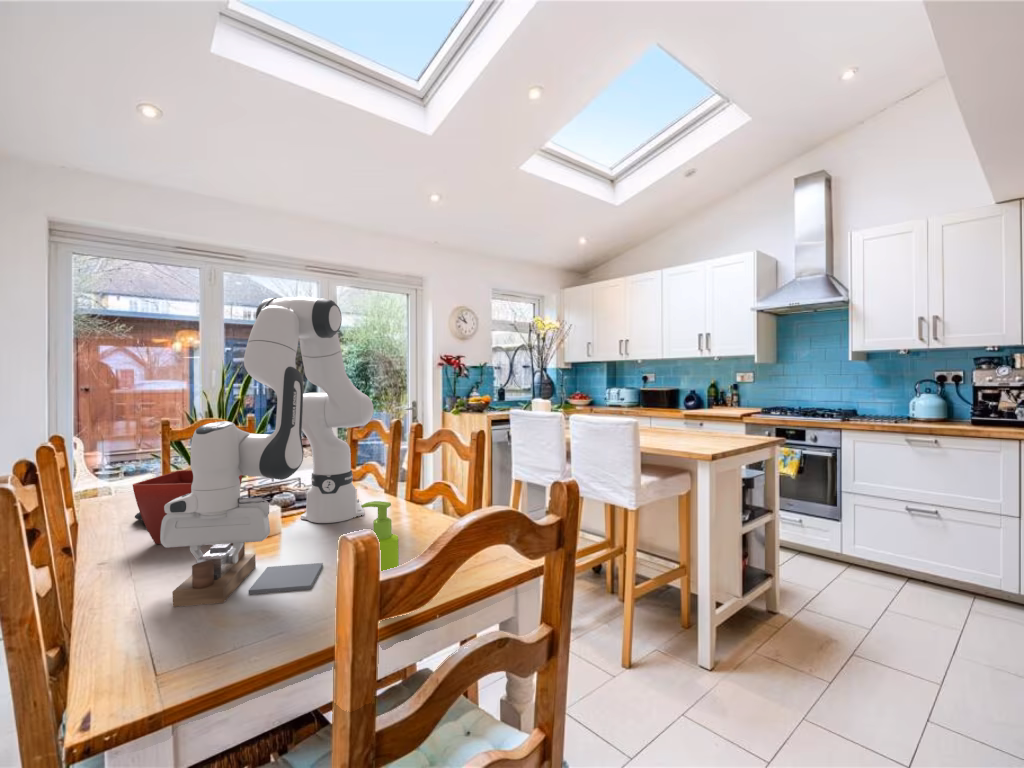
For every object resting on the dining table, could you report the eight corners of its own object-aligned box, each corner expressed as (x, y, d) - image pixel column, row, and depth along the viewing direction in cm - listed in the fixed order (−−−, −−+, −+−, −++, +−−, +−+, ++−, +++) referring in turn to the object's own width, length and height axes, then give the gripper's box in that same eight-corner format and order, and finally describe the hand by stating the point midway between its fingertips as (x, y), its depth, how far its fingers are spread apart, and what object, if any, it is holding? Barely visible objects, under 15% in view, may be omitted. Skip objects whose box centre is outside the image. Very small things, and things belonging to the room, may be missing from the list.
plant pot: (180, 525, 142) (178, 469, 142) (245, 524, 143) (244, 468, 142) (131, 549, 123) (129, 484, 122) (207, 548, 124) (206, 483, 123)
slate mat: (267, 570, 109) (267, 566, 109) (322, 566, 111) (322, 562, 111) (248, 594, 97) (248, 590, 97) (310, 589, 100) (310, 585, 100)
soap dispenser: (370, 597, 96) (369, 497, 95) (403, 599, 95) (402, 499, 94) (356, 611, 90) (355, 506, 90) (391, 614, 89) (390, 507, 89)
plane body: (213, 569, 110) (212, 530, 110) (255, 566, 112) (254, 528, 111) (172, 607, 92) (171, 560, 92) (223, 602, 94) (222, 557, 94)
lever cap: (214, 564, 105) (214, 542, 105) (236, 562, 106) (235, 541, 106) (197, 579, 98) (197, 556, 97) (221, 577, 98) (220, 554, 98)
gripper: (273, 493, 106) (274, 554, 107) (171, 497, 103) (173, 561, 103) (264, 500, 100) (265, 565, 101) (155, 505, 97) (156, 573, 97)
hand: (217, 563), depth 102 cm, fingers open, 5 cm apart
